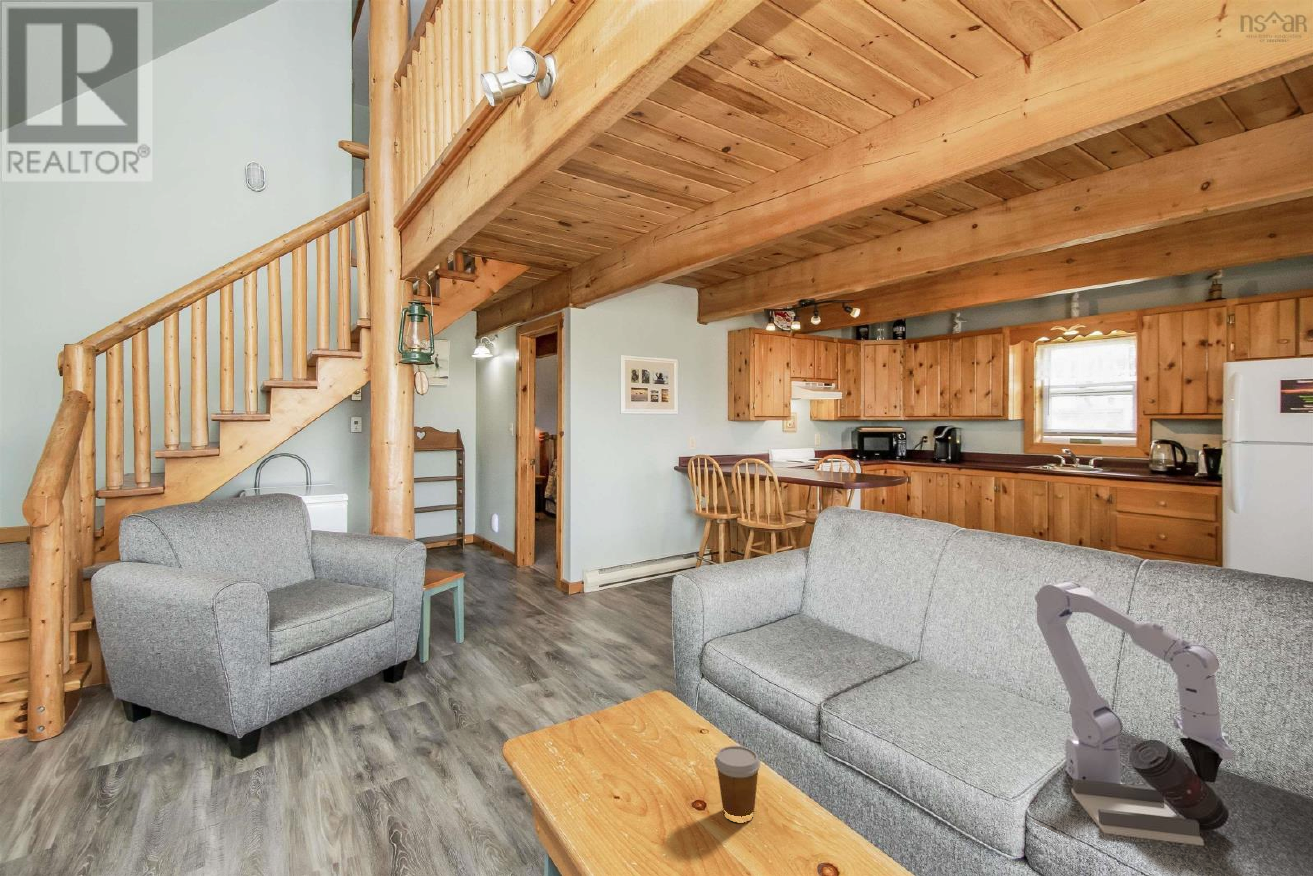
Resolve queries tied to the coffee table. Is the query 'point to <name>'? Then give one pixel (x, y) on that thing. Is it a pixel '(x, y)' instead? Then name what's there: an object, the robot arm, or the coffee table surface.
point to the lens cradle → (1134, 812)
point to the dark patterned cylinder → (1178, 784)
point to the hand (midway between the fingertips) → (1206, 780)
